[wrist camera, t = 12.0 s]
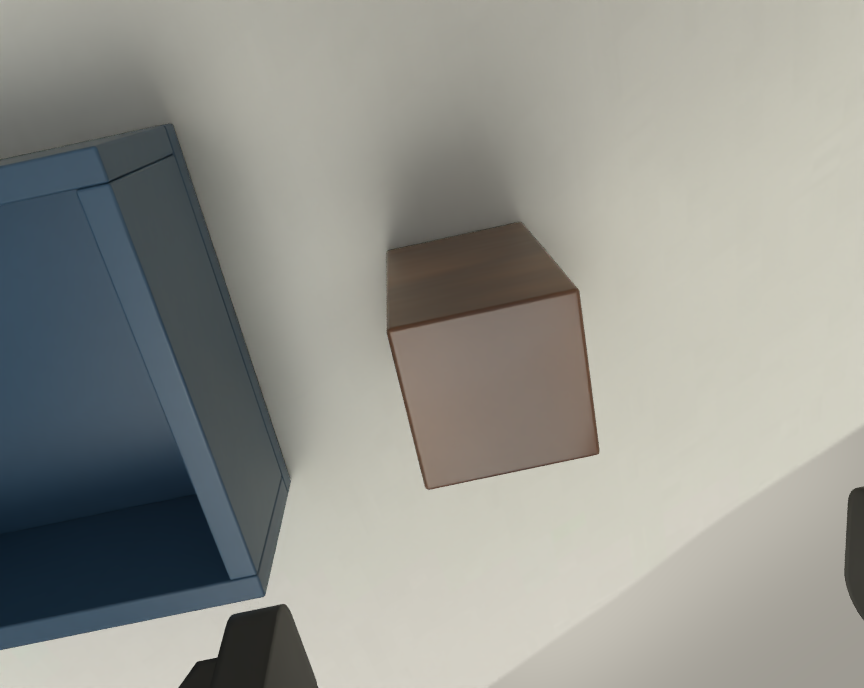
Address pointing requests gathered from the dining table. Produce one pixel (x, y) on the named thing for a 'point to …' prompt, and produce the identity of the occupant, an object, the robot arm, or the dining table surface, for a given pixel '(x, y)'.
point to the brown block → (489, 355)
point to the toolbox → (123, 399)
